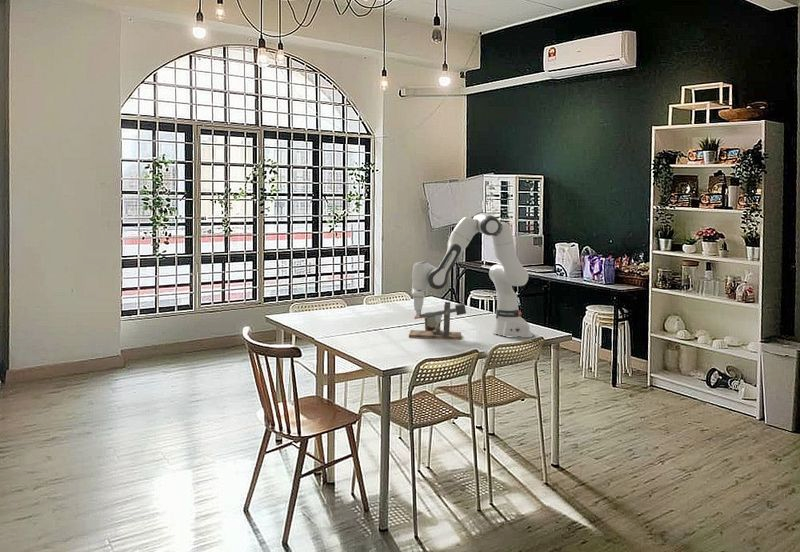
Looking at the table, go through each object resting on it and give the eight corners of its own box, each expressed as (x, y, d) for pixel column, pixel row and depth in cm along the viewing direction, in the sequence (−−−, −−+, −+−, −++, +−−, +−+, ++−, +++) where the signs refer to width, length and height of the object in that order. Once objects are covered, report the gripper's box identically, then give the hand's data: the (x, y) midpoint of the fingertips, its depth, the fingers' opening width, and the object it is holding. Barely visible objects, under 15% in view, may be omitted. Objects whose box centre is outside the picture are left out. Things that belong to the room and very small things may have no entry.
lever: (466, 316, 380) (464, 303, 380) (466, 317, 376) (464, 304, 375) (416, 325, 384) (414, 312, 383) (416, 326, 379) (413, 313, 378)
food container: (434, 328, 402) (434, 311, 400) (441, 330, 397) (442, 312, 396) (418, 330, 394) (418, 313, 392) (425, 332, 389) (426, 315, 388)
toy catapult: (461, 334, 386) (462, 302, 383) (460, 339, 374) (462, 306, 371) (410, 332, 388) (411, 300, 386) (409, 337, 377) (409, 303, 374)
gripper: (415, 287, 389) (414, 312, 391) (412, 293, 369) (411, 319, 371) (426, 288, 388) (425, 312, 390) (424, 294, 368) (423, 319, 370)
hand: (418, 316), depth 380 cm, fingers open, 8 cm apart
